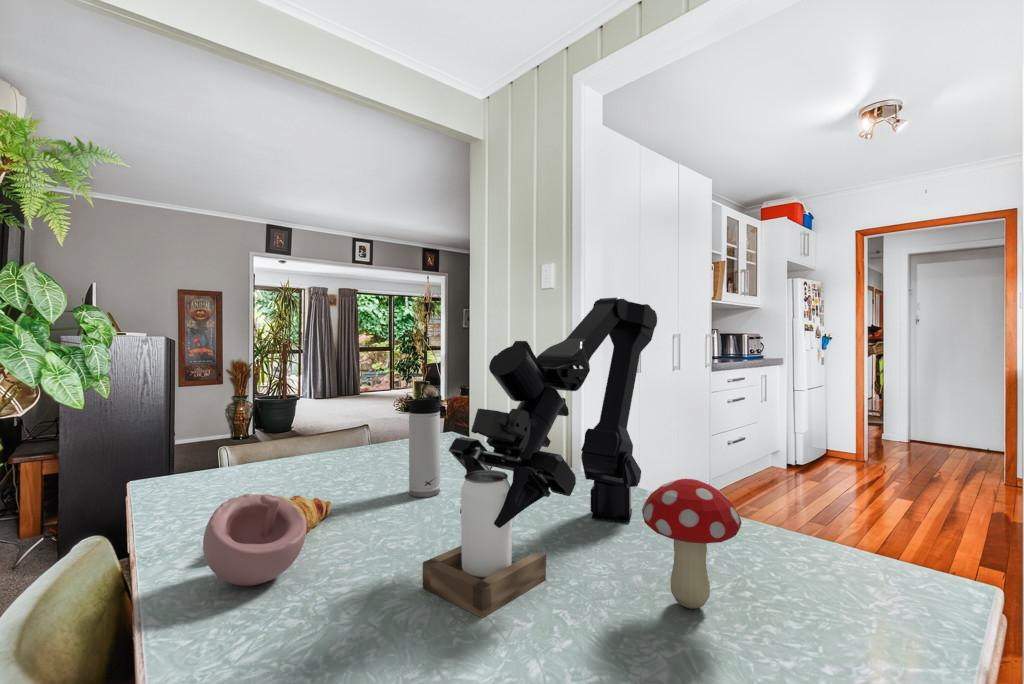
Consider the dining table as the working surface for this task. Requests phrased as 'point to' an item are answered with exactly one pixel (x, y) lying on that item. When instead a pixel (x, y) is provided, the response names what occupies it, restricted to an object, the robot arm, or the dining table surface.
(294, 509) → the mortar and pestle
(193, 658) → the dining table surface
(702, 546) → the decorative mushroom
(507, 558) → the can
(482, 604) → the cradle
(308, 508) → the croissant
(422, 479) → the travel mug
